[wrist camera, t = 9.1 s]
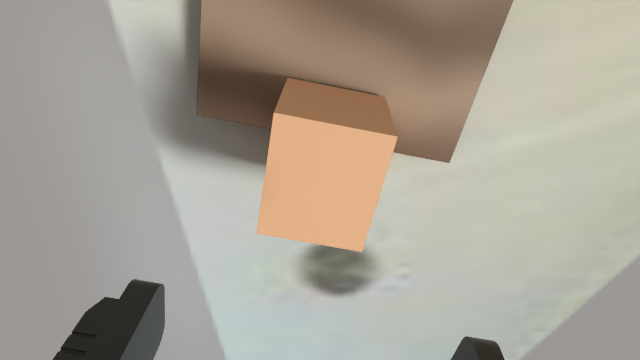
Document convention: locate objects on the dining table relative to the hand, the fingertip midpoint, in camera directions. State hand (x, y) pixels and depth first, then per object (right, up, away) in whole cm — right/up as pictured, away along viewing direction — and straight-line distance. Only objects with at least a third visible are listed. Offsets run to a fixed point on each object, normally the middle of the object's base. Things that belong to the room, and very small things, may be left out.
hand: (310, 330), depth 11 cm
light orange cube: (+1, +6, +11) cm, 13 cm away
